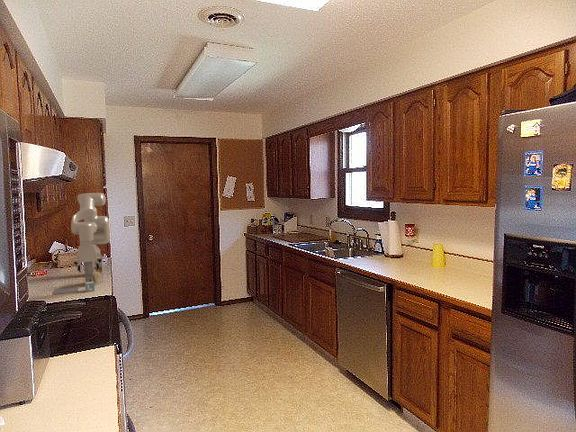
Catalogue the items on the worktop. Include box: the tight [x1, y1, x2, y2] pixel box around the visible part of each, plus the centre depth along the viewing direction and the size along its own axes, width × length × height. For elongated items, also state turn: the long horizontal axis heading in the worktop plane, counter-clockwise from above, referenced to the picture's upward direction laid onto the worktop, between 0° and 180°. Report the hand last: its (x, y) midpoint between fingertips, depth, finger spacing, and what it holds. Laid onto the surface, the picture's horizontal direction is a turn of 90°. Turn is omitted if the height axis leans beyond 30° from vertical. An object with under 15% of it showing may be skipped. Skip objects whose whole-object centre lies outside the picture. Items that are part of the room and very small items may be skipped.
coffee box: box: [83, 258, 104, 286], centre depth 255 cm, size 9×6×16 cm
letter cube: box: [84, 281, 96, 293], centre depth 238 cm, size 5×5×5 cm
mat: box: [52, 285, 79, 296], centre depth 239 cm, size 13×13×1 cm
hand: (88, 270), depth 237 cm, fingers open, 9 cm apart
